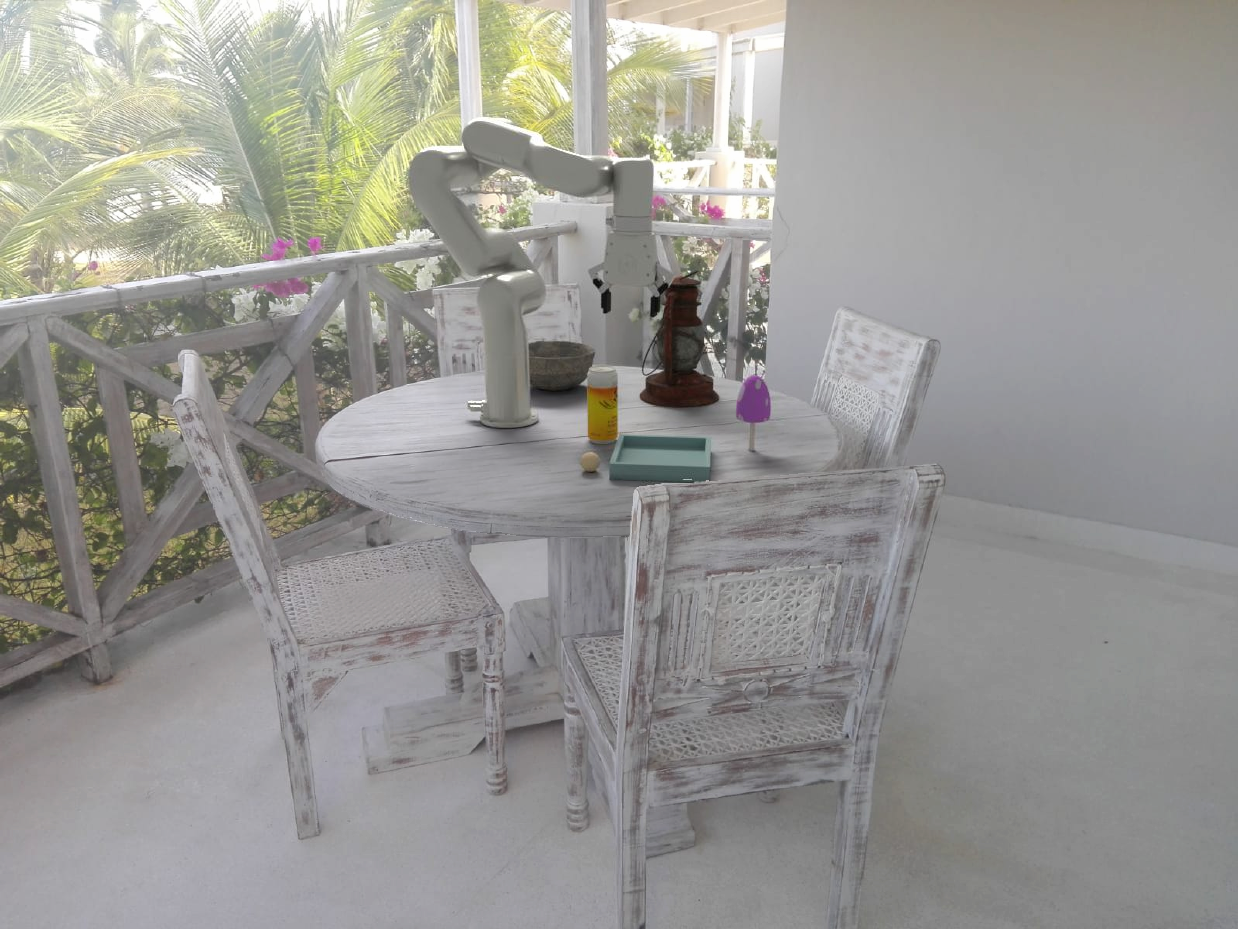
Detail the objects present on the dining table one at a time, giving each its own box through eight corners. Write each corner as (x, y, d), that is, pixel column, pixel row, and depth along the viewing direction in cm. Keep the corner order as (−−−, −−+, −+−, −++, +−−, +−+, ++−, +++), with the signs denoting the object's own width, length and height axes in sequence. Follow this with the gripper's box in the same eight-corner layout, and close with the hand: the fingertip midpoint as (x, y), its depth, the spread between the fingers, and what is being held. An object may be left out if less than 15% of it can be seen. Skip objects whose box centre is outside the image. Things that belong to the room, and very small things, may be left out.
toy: (760, 457, 182) (763, 381, 177) (728, 451, 185) (731, 376, 180) (773, 448, 187) (778, 374, 182) (743, 442, 191) (746, 370, 186)
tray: (609, 479, 170) (609, 463, 169) (619, 448, 187) (619, 434, 186) (709, 482, 168) (709, 466, 167) (710, 451, 185) (711, 436, 184)
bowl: (594, 399, 222) (594, 357, 219) (507, 399, 223) (505, 357, 219) (597, 378, 242) (597, 340, 239) (517, 378, 242) (516, 339, 239)
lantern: (657, 384, 236) (659, 262, 227) (729, 392, 229) (734, 267, 219) (626, 402, 220) (626, 272, 210) (703, 411, 213) (707, 277, 203)
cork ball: (579, 474, 173) (579, 455, 171) (582, 467, 176) (581, 449, 175) (598, 474, 172) (598, 456, 171) (601, 468, 176) (601, 449, 174)
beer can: (614, 445, 189) (614, 372, 184) (584, 443, 190) (583, 371, 185) (620, 436, 194) (620, 365, 189) (591, 435, 195) (590, 364, 191)
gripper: (583, 224, 179) (582, 314, 185) (671, 229, 175) (668, 321, 180) (595, 221, 186) (594, 308, 192) (680, 225, 181) (677, 314, 187)
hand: (630, 314), depth 186 cm, fingers open, 9 cm apart
